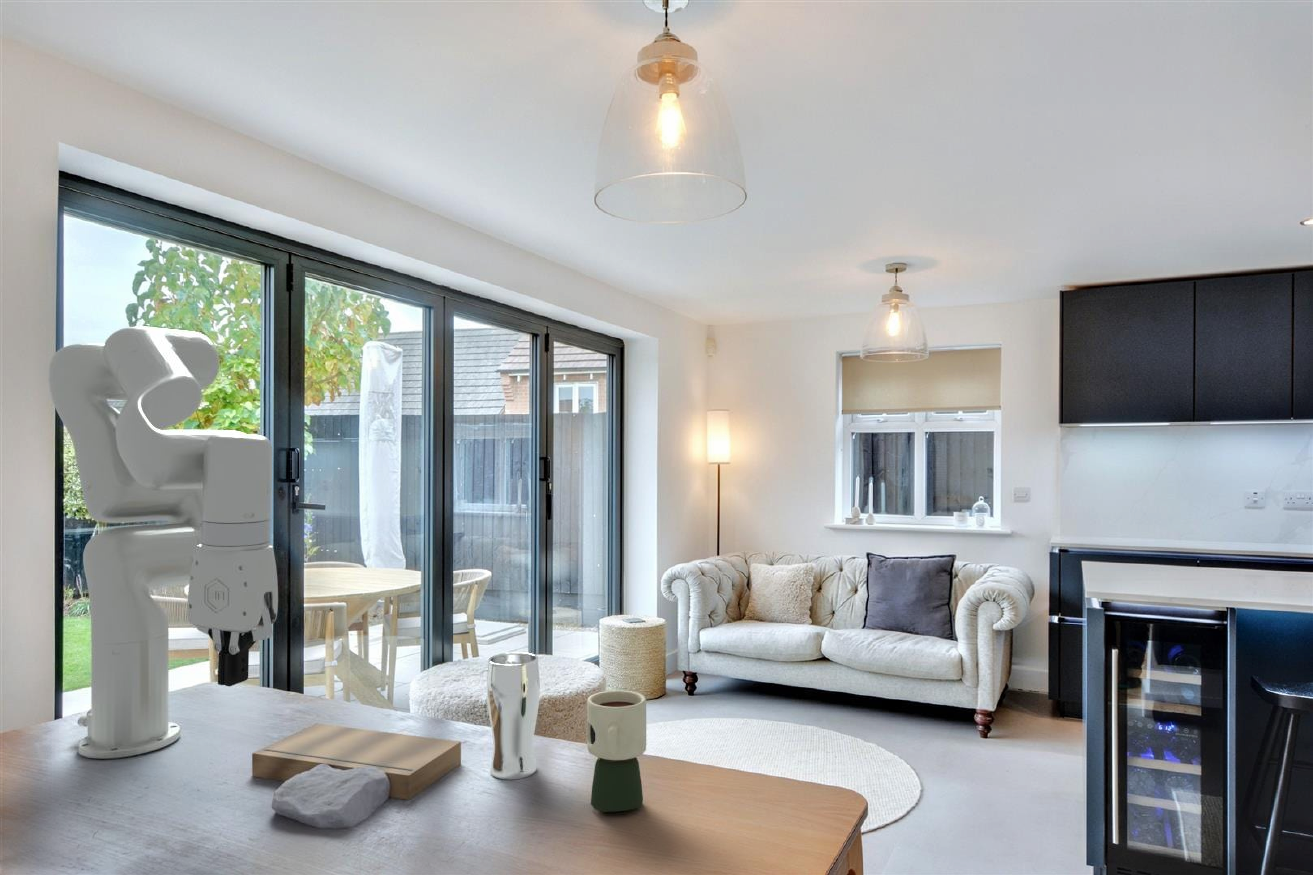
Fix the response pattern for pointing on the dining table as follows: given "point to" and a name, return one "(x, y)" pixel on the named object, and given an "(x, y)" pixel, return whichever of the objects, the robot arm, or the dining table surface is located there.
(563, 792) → the dining table surface
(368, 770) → the stone block
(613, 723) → the character mug
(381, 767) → the brown wooden board
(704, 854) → the dining table surface
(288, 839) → the dining table surface
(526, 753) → the beer glass
